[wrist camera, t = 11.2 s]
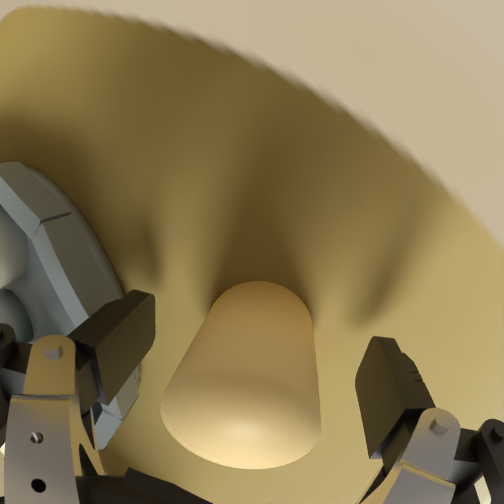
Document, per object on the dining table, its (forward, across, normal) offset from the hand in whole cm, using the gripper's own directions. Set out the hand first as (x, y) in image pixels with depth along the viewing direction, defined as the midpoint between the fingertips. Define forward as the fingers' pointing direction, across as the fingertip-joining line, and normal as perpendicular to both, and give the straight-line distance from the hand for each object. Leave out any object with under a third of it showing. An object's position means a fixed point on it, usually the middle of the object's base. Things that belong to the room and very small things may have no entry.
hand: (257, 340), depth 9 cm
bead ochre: (+1, 0, 0) cm, 1 cm away
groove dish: (+1, +14, +4) cm, 14 cm away
